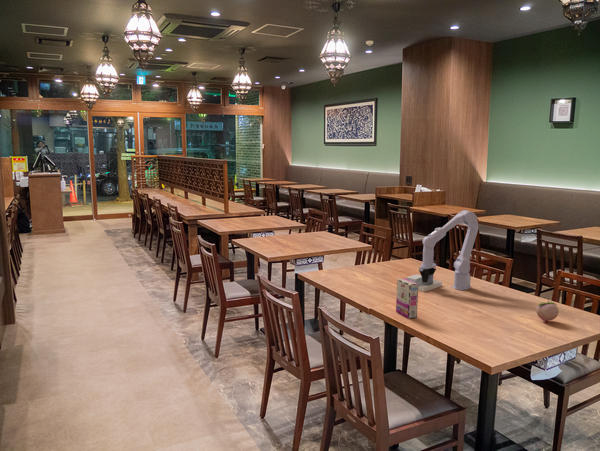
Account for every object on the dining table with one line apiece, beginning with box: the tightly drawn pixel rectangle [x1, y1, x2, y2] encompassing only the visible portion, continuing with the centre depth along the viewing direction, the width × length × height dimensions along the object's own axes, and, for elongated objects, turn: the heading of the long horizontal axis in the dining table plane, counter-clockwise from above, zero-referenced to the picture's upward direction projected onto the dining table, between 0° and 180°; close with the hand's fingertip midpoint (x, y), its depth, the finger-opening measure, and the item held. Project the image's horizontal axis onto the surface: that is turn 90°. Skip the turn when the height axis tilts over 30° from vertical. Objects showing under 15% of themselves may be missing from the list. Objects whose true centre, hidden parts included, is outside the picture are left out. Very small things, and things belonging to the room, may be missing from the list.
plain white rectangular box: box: [405, 274, 422, 286], centre depth 276 cm, size 10×6×5 cm, turn 133°
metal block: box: [422, 273, 434, 286], centre depth 270 cm, size 4×4×6 cm
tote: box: [418, 279, 443, 293], centre depth 274 cm, size 18×16×3 cm
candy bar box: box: [395, 278, 419, 320], centre depth 226 cm, size 11×5×16 cm, turn 21°
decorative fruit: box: [535, 300, 559, 323], centre depth 218 cm, size 9×8×10 cm
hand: (427, 281), depth 271 cm, fingers closed on metal block, 4 cm apart
